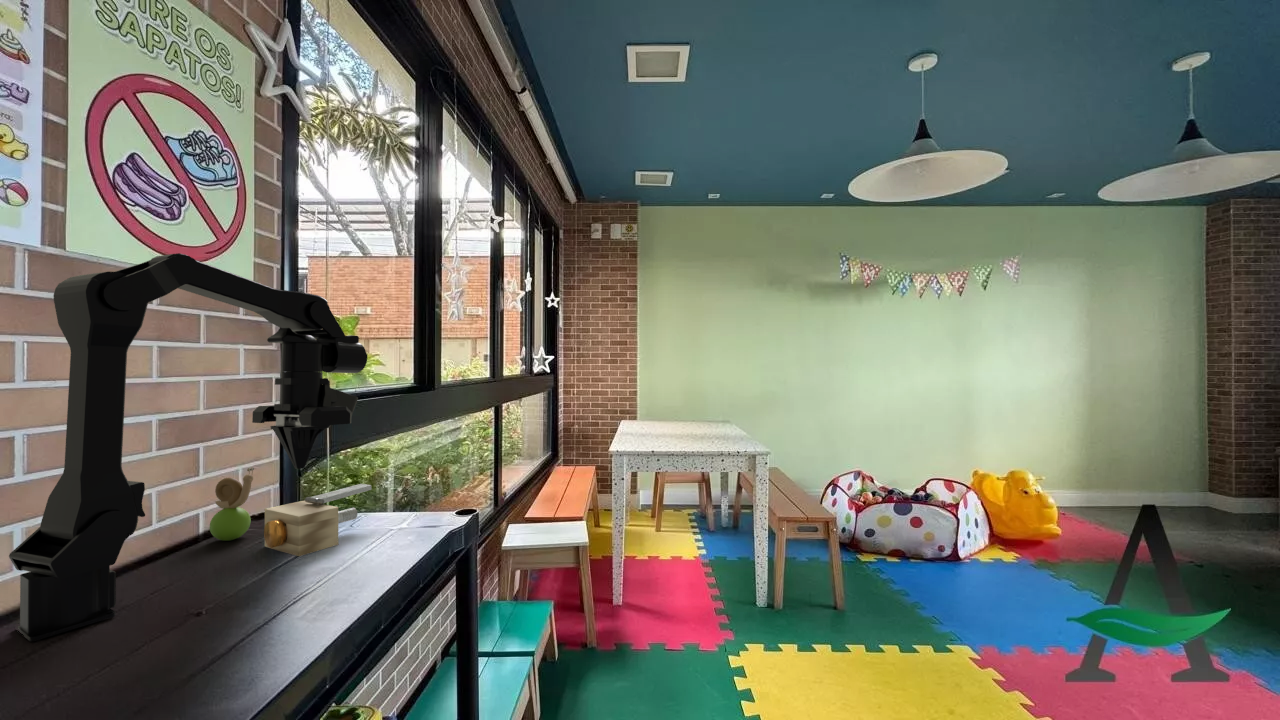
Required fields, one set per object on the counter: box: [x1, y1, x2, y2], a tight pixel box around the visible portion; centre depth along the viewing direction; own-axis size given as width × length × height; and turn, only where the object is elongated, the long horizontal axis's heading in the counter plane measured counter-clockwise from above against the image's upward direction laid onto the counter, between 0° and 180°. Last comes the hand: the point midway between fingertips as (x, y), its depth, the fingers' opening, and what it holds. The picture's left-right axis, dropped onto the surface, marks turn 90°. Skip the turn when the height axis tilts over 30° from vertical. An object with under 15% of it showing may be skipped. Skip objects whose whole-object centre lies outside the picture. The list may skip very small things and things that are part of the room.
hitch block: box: [264, 500, 339, 557], centre depth 84 cm, size 6×10×6 cm, turn 61°
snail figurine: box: [209, 467, 255, 542], centre depth 87 cm, size 5×6×12 cm
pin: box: [263, 507, 359, 549], centre depth 86 cm, size 13×4×4 cm, turn 151°
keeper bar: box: [304, 483, 373, 505], centre depth 89 cm, size 9×4×1 cm, turn 151°
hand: (299, 468), depth 84 cm, fingers closed
